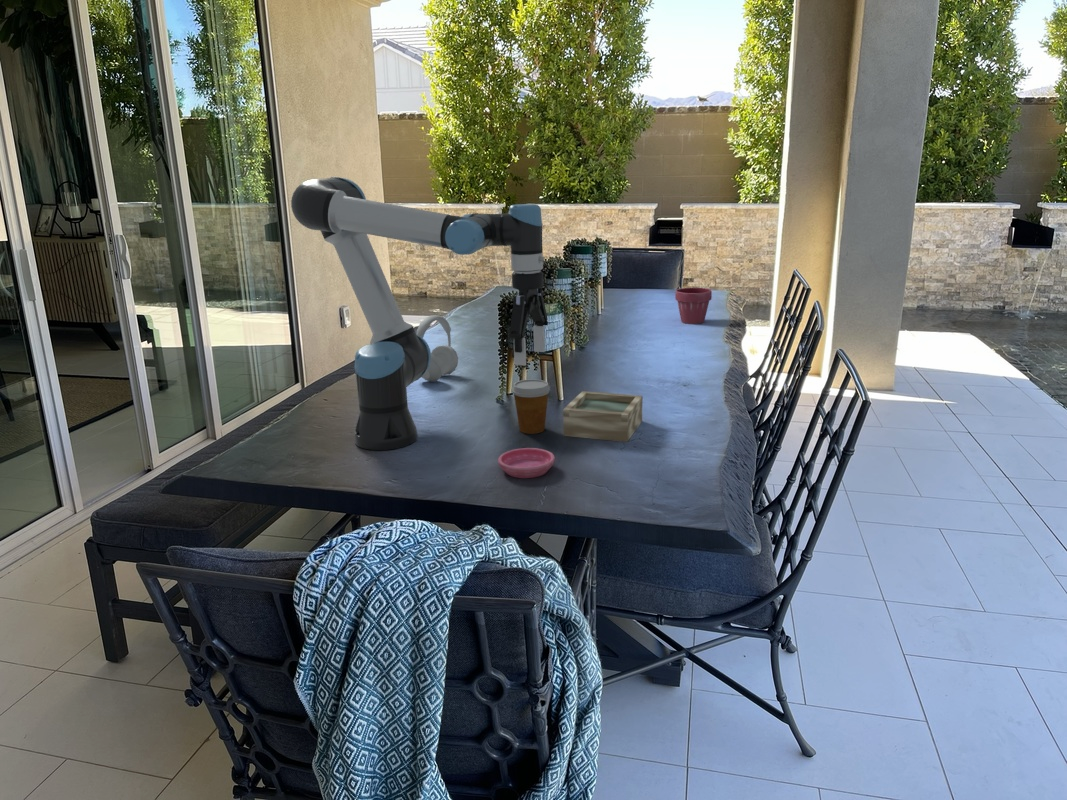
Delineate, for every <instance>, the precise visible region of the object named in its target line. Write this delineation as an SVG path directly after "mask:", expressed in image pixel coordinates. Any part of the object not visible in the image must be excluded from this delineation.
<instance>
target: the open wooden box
mask: <svg viewBox="0 0 1067 800" xmlns="http://www.w3.org/2000/svg"><path fill="white" fill-rule="evenodd" d="M562 415H563V417H562V418H563V419H562V421H563V423H562V424H563V427H562V429H563V436H565V437H574V438H584V439H594V440H604V441H615V442H622V443H623V442H624V443H627V442H628V441H629V440H630V439H631V438H632V436H633V435H634V433H635V432H636V430H637V429H638V428H639V426H640V425H641V423H642V422H643V395H635V394H624V393H611V392H599V391H584V390H582V391H581V392H580V393H579V394H577V396H576V397H574V399H572V400H571V401H570V402H569V403H568V404H567V405H566V406H565V407H564V408H563V409H562Z"/></svg>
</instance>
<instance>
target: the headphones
mask: <svg viewBox="0 0 1067 800" xmlns="http://www.w3.org/2000/svg"><path fill="white" fill-rule="evenodd" d="M435 321H436V322H438V323H439V324H440V325H441V327H442V328H443V330H444V331H445V333H446V335H447V343H448V344H445V345H444V344H443V345H437V346H436V347H435V348H433V349H432V351H431V362H430V365H429V368H428V369H427V371H426V372H425V373H424V375H423V376H422V377H421V378H422V379H424V380H425V381H428V382H431V383H433V382H437V381H439V380H440V379H441V377H442V376H446V375H451V374H452V373H453V372H454V371H456V370H457V367H458V363H459V355H458V353H457V351H456V350H455V349H454V348H453V346H452V343H451V331H452V328H451V326H450V324H449V322H448V320H447V318H445V317H444V316H441V315H437V314H436V315H435V314H434V315H433V314H432V315H429V316H426V317H425V318H423V320H422V321H420V323H419V325H418V327H417V330H416V331H415V332H416V335H418V336H419V337H422V338H423V339H424V336H425V334H426V332H427V330H428V328H429V327H430V326H431V325H432V324H433V323H434V322H435Z"/></svg>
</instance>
